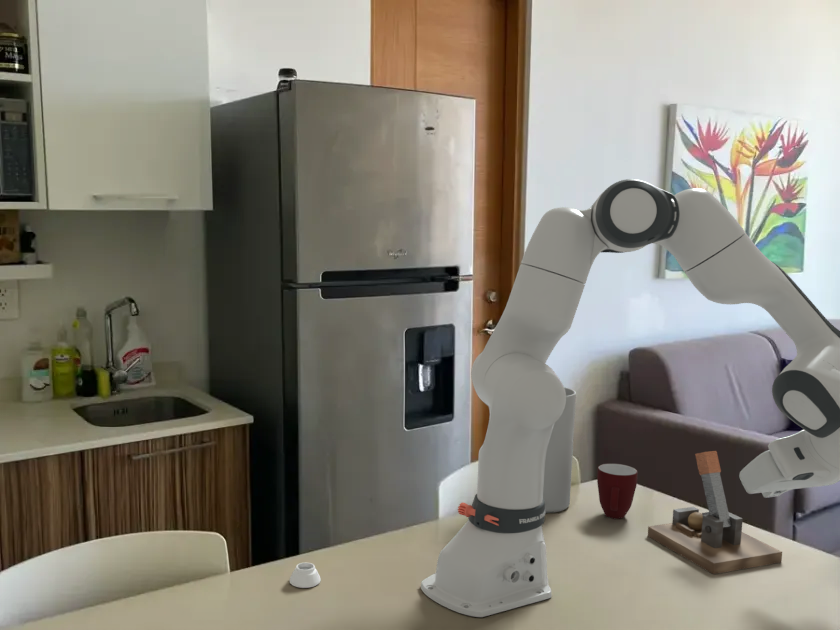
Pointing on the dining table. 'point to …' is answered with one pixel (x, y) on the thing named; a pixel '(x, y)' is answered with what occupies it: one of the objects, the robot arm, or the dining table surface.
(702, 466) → the lever
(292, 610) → the dining table surface
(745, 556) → the bench
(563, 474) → the cylinder vase
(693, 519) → the walnut
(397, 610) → the dining table surface
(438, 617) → the dining table surface
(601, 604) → the dining table surface
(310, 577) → the lidless jar
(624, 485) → the mug
